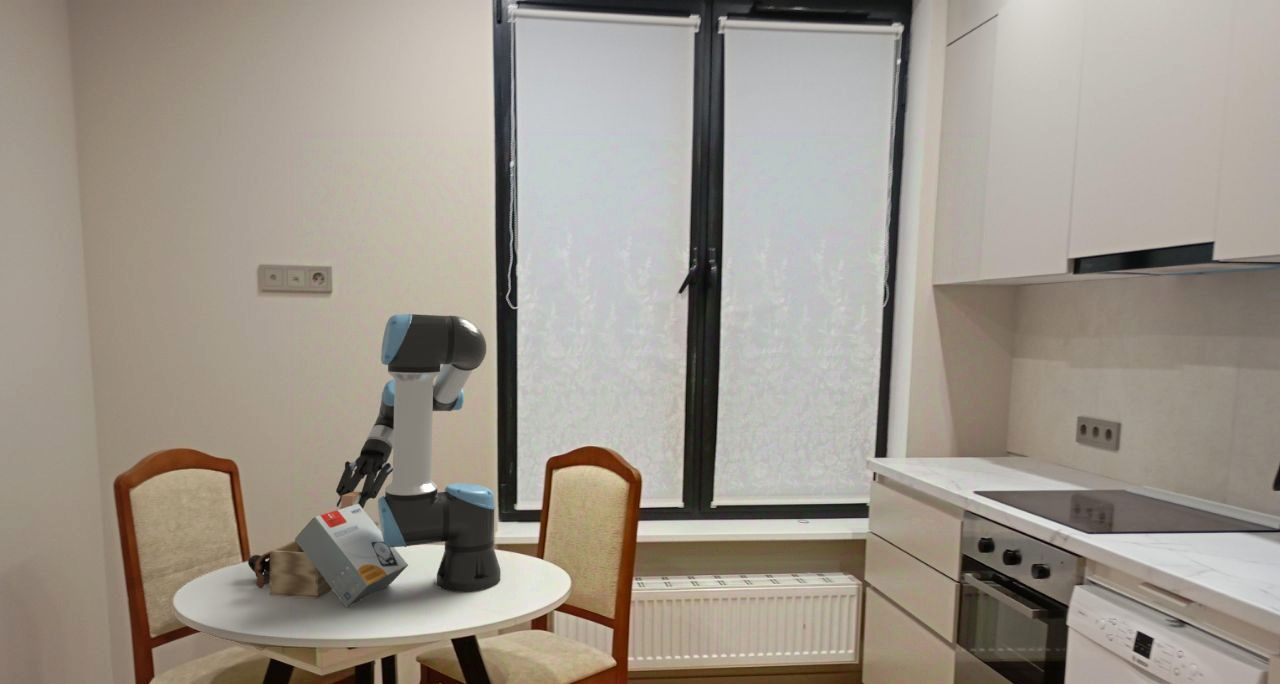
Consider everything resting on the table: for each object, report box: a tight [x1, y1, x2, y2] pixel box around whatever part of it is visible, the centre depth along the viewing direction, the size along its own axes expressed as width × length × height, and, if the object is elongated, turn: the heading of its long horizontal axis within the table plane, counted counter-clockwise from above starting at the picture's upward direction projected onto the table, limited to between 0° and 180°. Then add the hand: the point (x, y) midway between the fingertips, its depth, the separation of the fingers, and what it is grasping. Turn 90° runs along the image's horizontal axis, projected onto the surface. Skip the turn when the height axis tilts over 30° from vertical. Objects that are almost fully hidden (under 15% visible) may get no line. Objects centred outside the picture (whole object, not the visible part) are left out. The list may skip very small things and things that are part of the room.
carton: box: [268, 540, 334, 599], centre depth 157 cm, size 12×14×10 cm
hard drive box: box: [294, 504, 409, 608], centre depth 152 cm, size 16×8×20 cm
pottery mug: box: [247, 551, 270, 589], centre depth 160 cm, size 12×10×8 cm
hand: (343, 519), depth 169 cm, fingers closed on lid, 3 cm apart
